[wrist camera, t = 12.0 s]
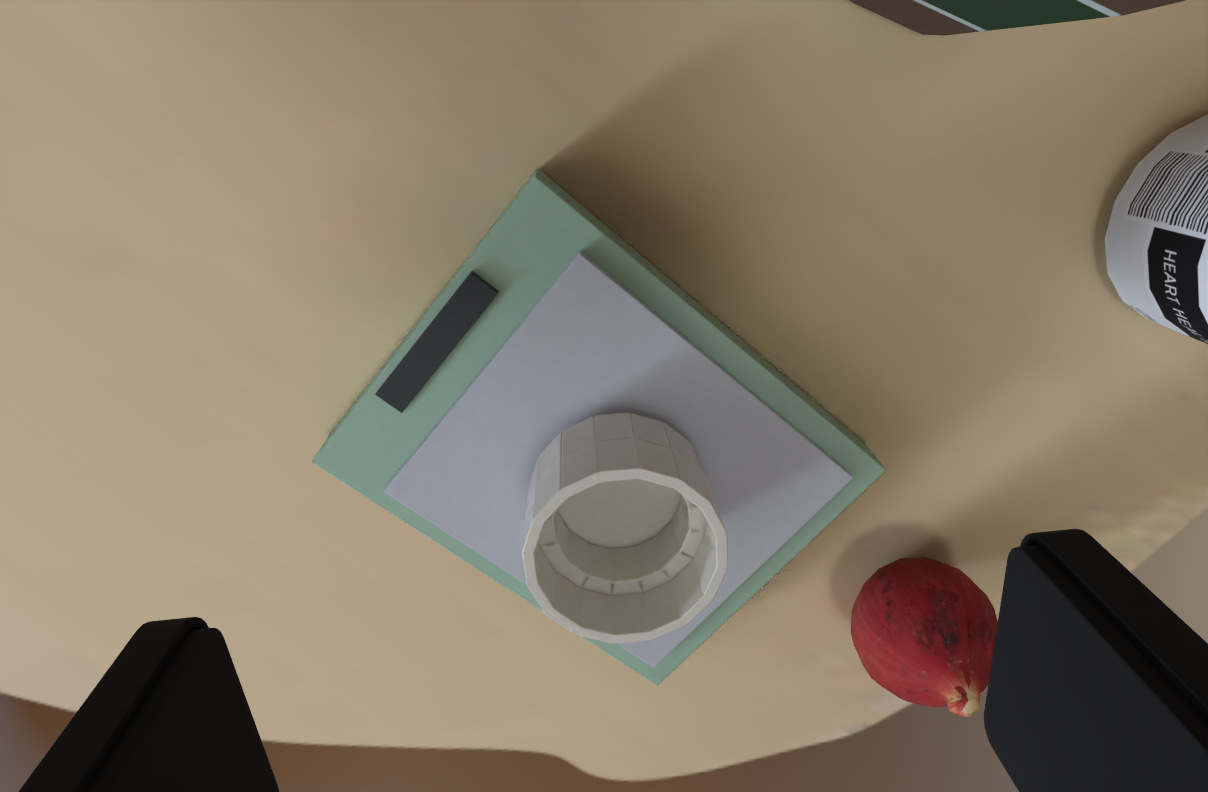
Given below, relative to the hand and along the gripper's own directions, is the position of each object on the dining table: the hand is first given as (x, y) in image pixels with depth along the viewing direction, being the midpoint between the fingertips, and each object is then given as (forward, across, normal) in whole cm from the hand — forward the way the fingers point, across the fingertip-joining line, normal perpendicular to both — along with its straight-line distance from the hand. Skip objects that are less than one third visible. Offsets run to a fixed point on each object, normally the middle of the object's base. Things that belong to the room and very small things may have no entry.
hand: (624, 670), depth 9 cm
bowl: (+19, 0, +9) cm, 21 cm away
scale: (+22, 0, +8) cm, 24 cm away
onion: (+22, -13, +17) cm, 31 cm away
